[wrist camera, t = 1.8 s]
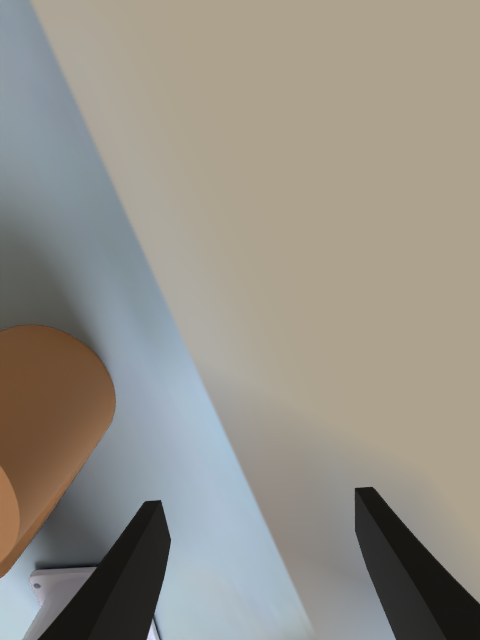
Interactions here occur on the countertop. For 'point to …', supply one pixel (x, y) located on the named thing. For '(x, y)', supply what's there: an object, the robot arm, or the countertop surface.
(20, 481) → the bracket
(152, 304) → the countertop surface
